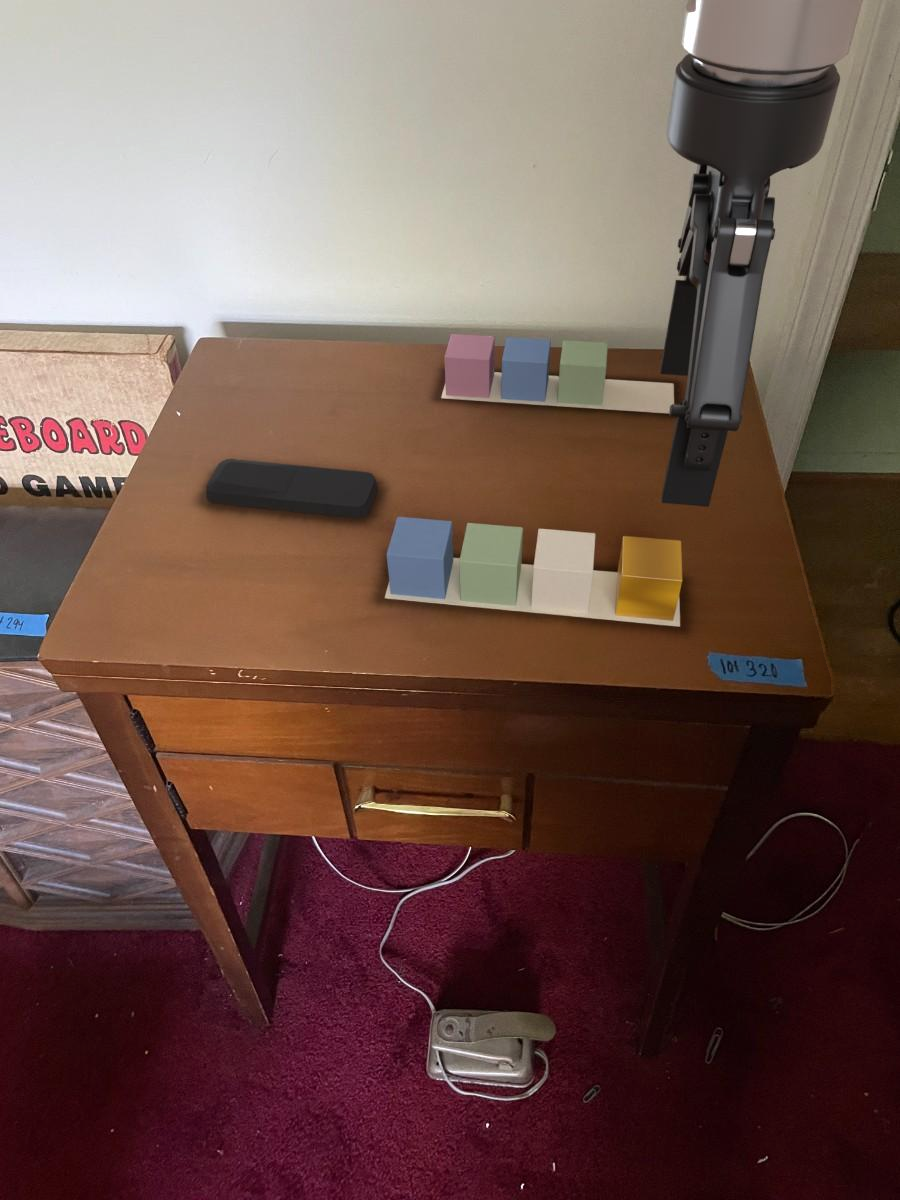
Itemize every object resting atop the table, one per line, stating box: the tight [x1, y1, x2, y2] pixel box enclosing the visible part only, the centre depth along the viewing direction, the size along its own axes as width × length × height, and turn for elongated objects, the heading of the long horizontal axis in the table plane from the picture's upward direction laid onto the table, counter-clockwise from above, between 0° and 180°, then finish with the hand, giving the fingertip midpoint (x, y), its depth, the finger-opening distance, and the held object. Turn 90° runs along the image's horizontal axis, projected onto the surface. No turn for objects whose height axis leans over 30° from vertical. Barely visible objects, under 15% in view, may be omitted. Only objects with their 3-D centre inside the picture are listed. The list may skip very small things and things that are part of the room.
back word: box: [440, 333, 675, 414], centre depth 89 cm, size 23×5×4 cm, turn 81°
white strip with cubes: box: [384, 516, 681, 627], centre depth 70 cm, size 23×5×4 cm, turn 81°
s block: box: [615, 535, 683, 621], centre depth 69 cm, size 4×4×4 cm
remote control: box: [205, 458, 379, 519], centre depth 80 cm, size 5×2×15 cm
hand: (682, 432), depth 57 cm, fingers open, 13 cm apart
